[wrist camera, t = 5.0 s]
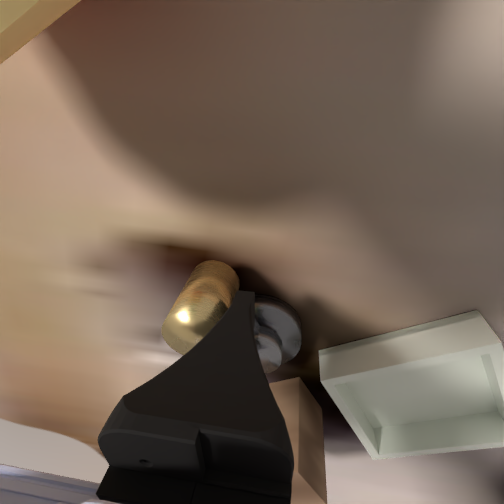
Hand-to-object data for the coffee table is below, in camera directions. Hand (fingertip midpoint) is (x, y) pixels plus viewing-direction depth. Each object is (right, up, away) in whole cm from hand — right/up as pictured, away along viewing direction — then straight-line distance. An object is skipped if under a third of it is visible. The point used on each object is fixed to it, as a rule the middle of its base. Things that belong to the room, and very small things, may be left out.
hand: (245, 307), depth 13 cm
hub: (+1, -2, +5) cm, 6 cm away
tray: (+11, -6, +6) cm, 14 cm away
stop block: (+3, -9, +9) cm, 13 cm away
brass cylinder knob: (0, -1, +3) cm, 3 cm away
